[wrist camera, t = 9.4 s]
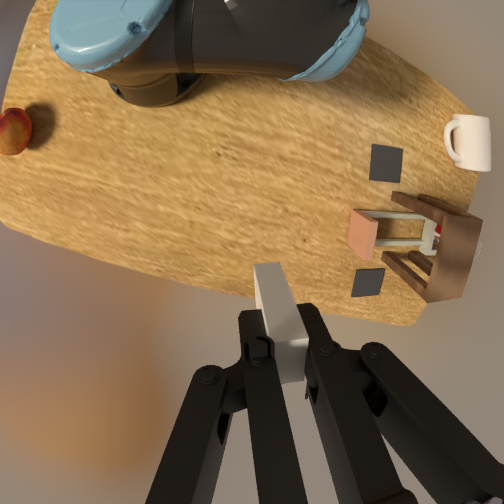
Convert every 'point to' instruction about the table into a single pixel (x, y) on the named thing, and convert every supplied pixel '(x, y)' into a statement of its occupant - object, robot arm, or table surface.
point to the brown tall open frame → (439, 249)
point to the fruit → (14, 131)
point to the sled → (365, 239)
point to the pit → (385, 163)
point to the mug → (469, 142)
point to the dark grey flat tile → (367, 282)
